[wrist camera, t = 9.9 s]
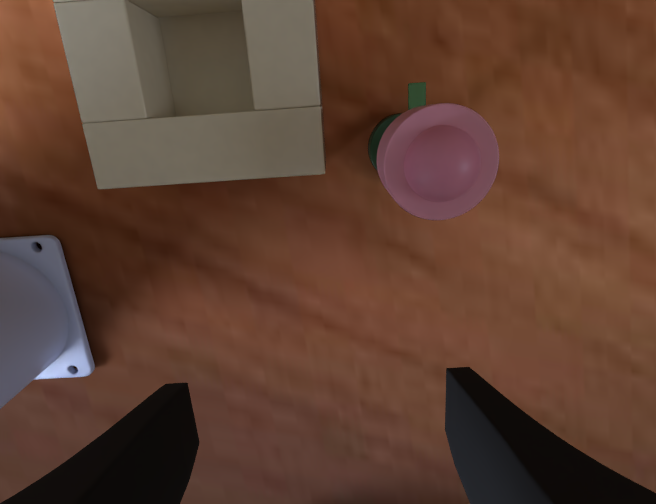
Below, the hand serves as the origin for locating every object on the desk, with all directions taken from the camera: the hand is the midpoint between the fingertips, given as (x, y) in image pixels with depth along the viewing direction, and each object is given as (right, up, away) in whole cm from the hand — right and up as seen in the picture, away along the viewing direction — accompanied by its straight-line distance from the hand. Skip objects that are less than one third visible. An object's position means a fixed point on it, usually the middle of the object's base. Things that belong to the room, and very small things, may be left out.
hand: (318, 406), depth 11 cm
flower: (+4, +9, +8) cm, 13 cm away
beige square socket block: (-5, +12, +7) cm, 15 cm away
